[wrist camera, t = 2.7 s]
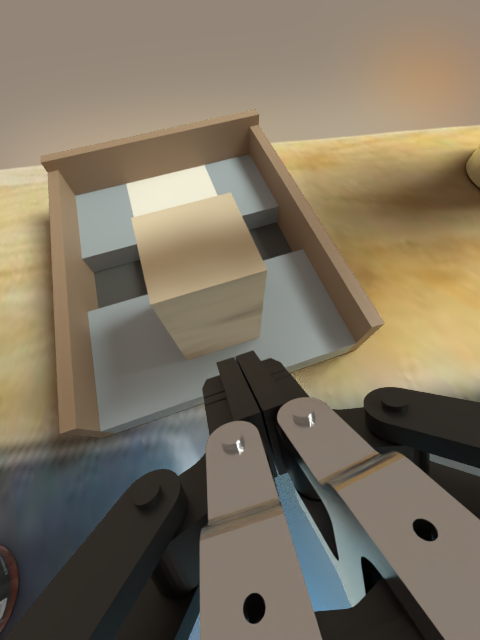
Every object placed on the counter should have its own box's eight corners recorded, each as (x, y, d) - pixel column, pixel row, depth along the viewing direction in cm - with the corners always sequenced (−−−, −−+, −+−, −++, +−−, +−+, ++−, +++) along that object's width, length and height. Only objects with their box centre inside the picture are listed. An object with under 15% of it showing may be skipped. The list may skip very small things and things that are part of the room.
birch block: (170, 297, 24) (130, 217, 16) (235, 278, 24) (230, 192, 16) (187, 360, 21) (150, 304, 13) (259, 337, 22) (267, 269, 14)
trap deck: (78, 210, 32) (40, 156, 26) (254, 167, 35) (255, 109, 29) (103, 438, 21) (48, 433, 15) (356, 349, 24) (391, 316, 18)
